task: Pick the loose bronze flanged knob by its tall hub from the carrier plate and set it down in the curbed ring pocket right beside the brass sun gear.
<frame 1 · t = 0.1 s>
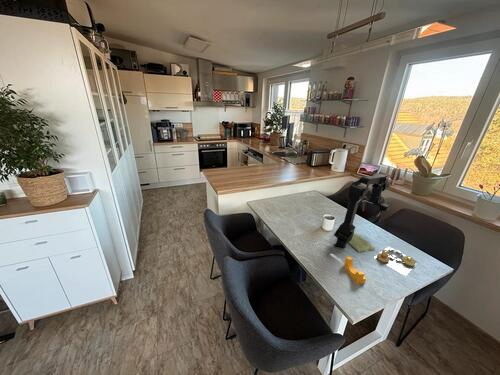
hand: (369, 213, 134), 15 cm above the table, fingers open, 9 cm apart
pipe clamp: (353, 274, 105), on the table
bronze flanged knob: (382, 259, 114), point 1 cm above the table, touching carrier plate
washcloth: (356, 244, 128), on the table
carrier plate: (395, 261, 114), on the table
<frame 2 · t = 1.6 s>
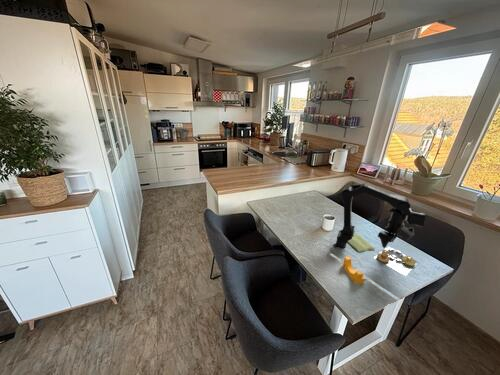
hand: (387, 244, 110), 11 cm above the table, fingers open, 9 cm apart
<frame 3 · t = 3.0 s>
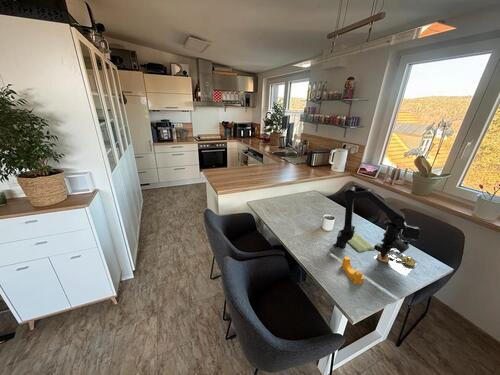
hand: (383, 256, 113), 3 cm above the table, fingers closed on bronze flanged knob, 3 cm apart
bronze flanged knob: (382, 259, 114), point 1 cm above the table, touching carrier plate, gripper
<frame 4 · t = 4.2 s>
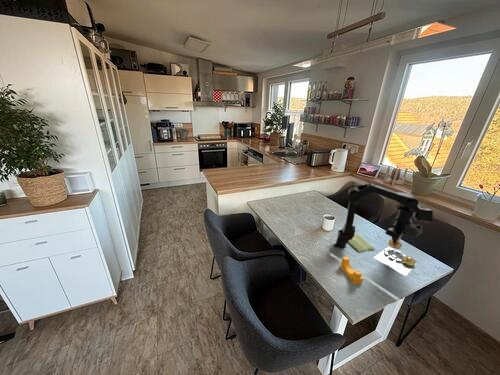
hand: (395, 241, 110), 12 cm above the table, fingers closed on bronze flanged knob, 3 cm apart
bronze flanged knob: (394, 245, 111), point 10 cm above the table, touching gripper
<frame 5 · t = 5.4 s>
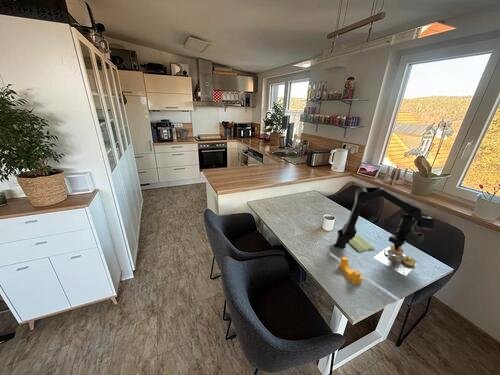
hand: (397, 248, 114), 7 cm above the table, fingers closed on bronze flanged knob, 3 cm apart
bronze flanged knob: (396, 251, 115), point 4 cm above the table, touching gripper
when the fingers open (5 cm above the table, at t = 5.9 s): bronze flanged knob drops 2 cm, resting on carrier plate.
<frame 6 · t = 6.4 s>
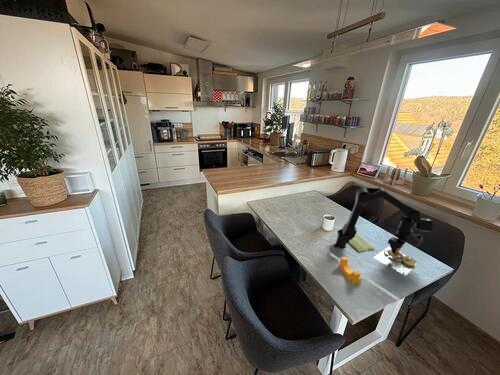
hand: (396, 250, 115), 5 cm above the table, fingers open, 8 cm apart
bronze flanged knob: (394, 255, 116), point 1 cm above the table, touching carrier plate
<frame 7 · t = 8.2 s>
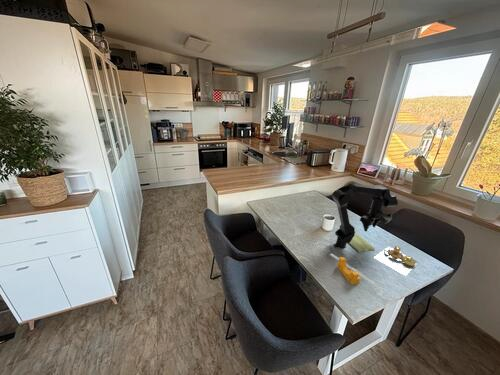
hand: (369, 229, 123), 12 cm above the table, fingers open, 9 cm apart
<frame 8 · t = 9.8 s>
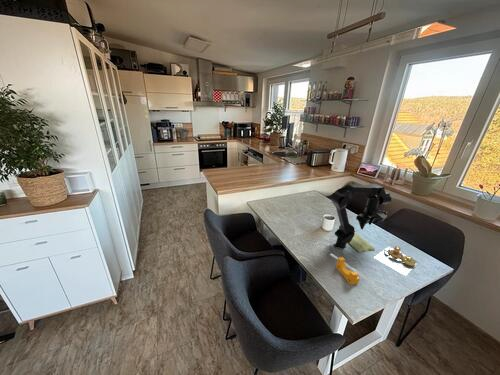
hand: (365, 226, 124), 12 cm above the table, fingers open, 9 cm apart
at the end: bronze flanged knob 0.1 cm from the target spot on the carrier plate, point 1.3 cm above the carrier plate's base; bronze flanged knob tilted 0°; the gripper is holding nothing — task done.
